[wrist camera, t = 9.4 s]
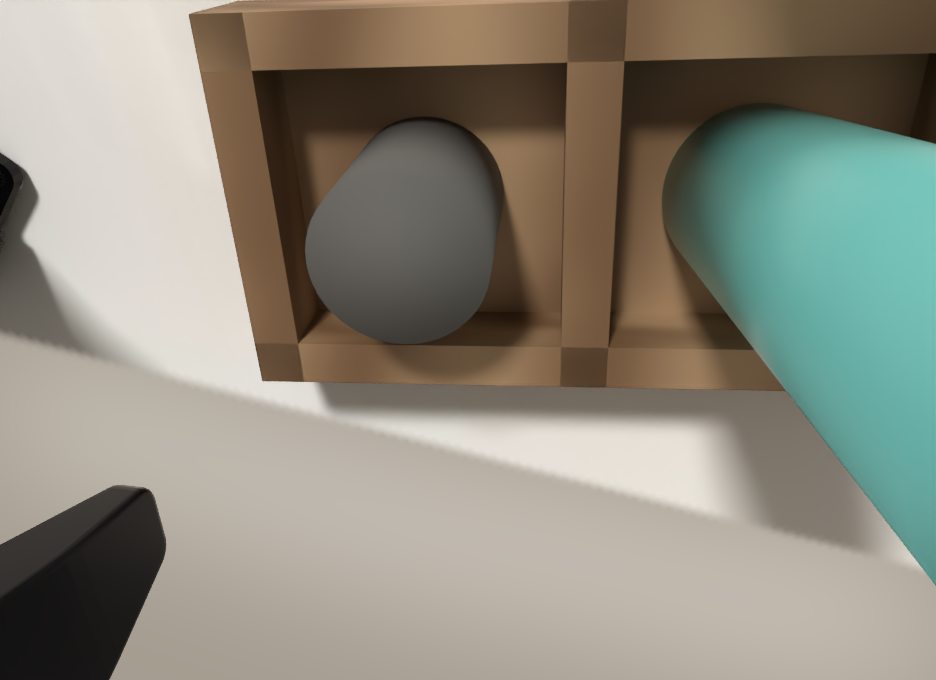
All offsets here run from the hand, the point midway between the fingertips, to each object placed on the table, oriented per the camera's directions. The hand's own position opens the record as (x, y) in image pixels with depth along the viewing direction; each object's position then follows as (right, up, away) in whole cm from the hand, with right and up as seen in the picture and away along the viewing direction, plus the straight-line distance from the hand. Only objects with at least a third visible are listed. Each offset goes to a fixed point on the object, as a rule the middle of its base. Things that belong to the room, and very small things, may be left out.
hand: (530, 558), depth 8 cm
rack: (+2, +7, +12) cm, 14 cm away
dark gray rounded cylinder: (-2, +6, +12) cm, 13 cm away
